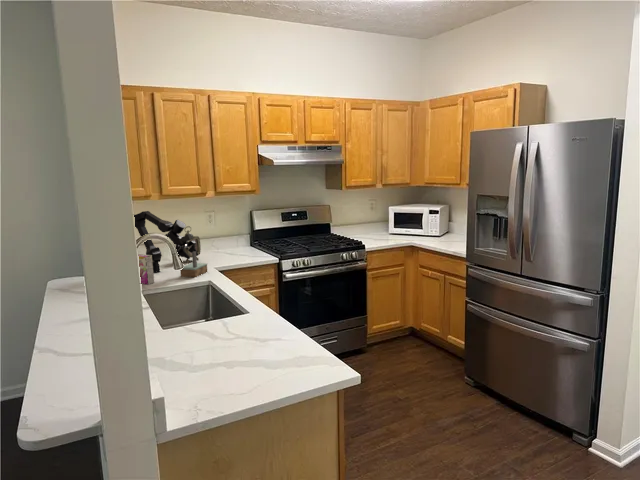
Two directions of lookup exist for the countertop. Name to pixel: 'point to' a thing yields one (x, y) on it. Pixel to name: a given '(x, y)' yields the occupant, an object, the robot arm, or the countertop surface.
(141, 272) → the candy bar box
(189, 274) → the walnut box
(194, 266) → the lid
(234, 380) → the countertop surface
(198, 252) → the tabletop clock
